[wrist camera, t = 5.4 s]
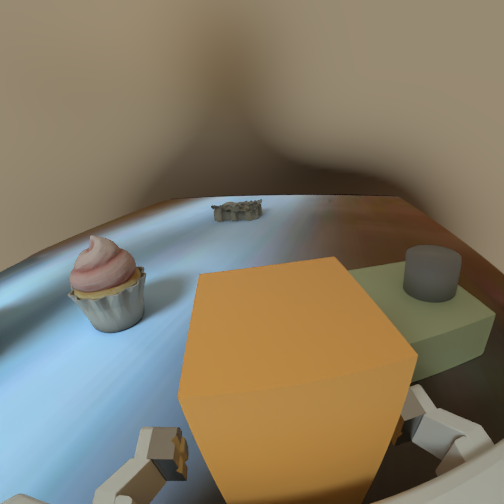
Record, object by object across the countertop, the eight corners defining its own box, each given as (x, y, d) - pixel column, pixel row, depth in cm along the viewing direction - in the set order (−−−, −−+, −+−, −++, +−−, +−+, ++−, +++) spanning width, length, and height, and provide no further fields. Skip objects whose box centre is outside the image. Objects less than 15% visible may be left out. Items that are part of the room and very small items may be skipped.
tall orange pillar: (349, 524, 10) (417, 355, 5) (248, 541, 9) (177, 397, 5) (324, 442, 15) (334, 256, 11) (241, 455, 15) (199, 274, 11)
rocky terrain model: (211, 223, 69) (208, 206, 67) (224, 215, 75) (221, 199, 74) (256, 222, 65) (253, 203, 64) (265, 213, 72) (263, 196, 70)
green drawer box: (482, 354, 18) (504, 278, 16) (209, 422, 18) (183, 341, 15) (417, 292, 30) (423, 230, 27) (213, 326, 29) (200, 259, 27)
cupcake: (76, 317, 32) (51, 240, 29) (140, 292, 38) (122, 218, 34) (90, 353, 25) (55, 258, 22) (170, 319, 31) (148, 228, 27)
